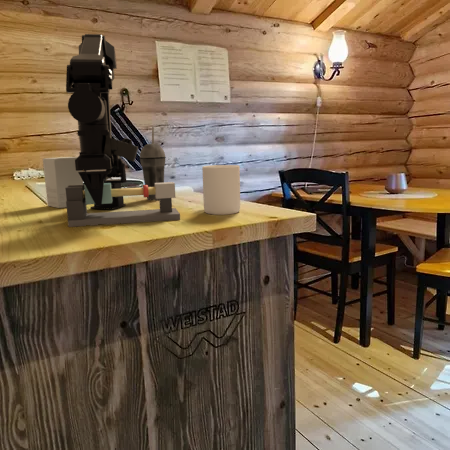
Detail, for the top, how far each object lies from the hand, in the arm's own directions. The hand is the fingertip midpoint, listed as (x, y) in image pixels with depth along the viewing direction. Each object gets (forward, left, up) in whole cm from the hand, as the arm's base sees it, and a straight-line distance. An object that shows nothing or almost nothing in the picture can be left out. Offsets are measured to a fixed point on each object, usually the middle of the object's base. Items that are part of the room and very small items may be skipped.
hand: (99, 203), depth 87 cm
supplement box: (-23, +18, -4) cm, 30 cm away
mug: (+20, +16, -4) cm, 26 cm away
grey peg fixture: (+4, +2, -4) cm, 6 cm away
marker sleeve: (0, 0, 0) cm, 0 cm away
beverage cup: (-4, +32, -4) cm, 33 cm away
